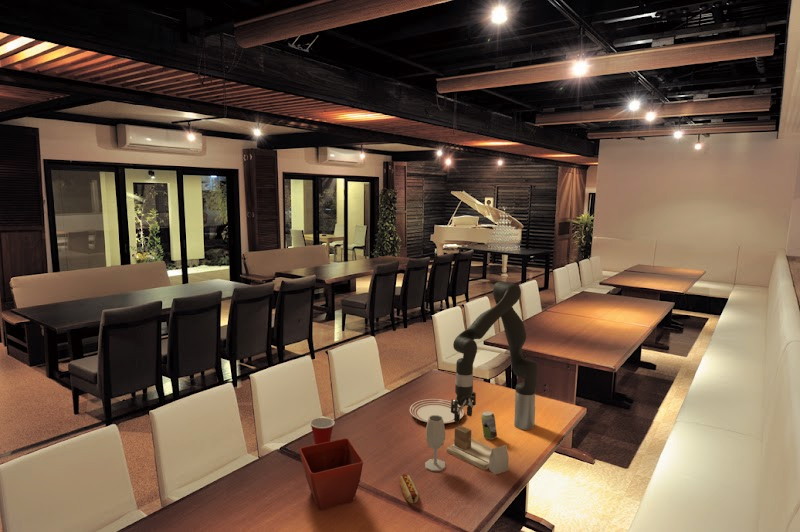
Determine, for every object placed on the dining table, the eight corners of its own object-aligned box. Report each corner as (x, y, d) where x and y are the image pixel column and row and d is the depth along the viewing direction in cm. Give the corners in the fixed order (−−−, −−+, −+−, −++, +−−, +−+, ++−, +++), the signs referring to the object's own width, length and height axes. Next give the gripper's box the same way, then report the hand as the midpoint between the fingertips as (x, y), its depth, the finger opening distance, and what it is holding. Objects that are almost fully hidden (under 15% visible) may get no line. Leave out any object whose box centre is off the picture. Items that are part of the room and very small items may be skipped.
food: (421, 504, 177) (421, 491, 176) (407, 507, 176) (407, 494, 175) (410, 483, 190) (411, 471, 190) (397, 485, 189) (397, 473, 188)
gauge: (457, 441, 219) (457, 424, 217) (470, 447, 213) (471, 429, 212) (451, 444, 216) (451, 427, 215) (465, 450, 210) (465, 433, 209)
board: (466, 441, 223) (466, 436, 222) (504, 457, 208) (504, 453, 208) (446, 452, 213) (446, 447, 213) (484, 470, 199) (484, 465, 198)
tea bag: (508, 470, 199) (508, 447, 197) (494, 474, 196) (495, 451, 194) (502, 466, 202) (503, 443, 201) (489, 470, 199) (489, 447, 198)
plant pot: (312, 519, 169) (310, 473, 166) (300, 489, 186) (298, 447, 184) (364, 505, 176) (364, 461, 174) (348, 477, 194) (347, 437, 191)
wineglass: (448, 462, 204) (448, 415, 201) (442, 474, 196) (443, 424, 193) (427, 459, 207) (428, 412, 204) (421, 470, 199) (422, 421, 196)
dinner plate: (472, 412, 253) (472, 406, 252) (448, 433, 230) (448, 427, 229) (426, 400, 267) (426, 394, 267) (399, 419, 244) (399, 413, 244)
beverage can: (496, 441, 222) (497, 416, 220) (480, 439, 224) (481, 415, 222) (496, 435, 228) (497, 410, 227) (480, 433, 230) (481, 409, 228)
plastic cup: (340, 446, 217) (339, 421, 215) (320, 456, 209) (320, 429, 208) (324, 438, 225) (324, 413, 223) (305, 447, 217) (304, 421, 215)
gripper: (467, 376, 217) (466, 411, 220) (446, 384, 207) (445, 421, 210) (481, 381, 212) (480, 416, 214) (460, 389, 202) (459, 426, 204)
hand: (463, 418), depth 212 cm, fingers open, 8 cm apart
